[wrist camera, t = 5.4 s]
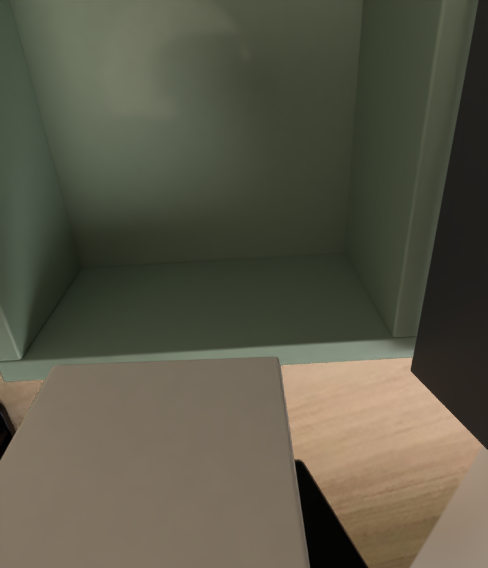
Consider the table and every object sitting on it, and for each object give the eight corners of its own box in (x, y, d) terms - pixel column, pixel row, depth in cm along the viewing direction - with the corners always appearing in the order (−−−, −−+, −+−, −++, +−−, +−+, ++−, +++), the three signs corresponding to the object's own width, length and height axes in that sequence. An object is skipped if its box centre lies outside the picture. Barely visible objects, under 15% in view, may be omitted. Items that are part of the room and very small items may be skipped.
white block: (98, 502, 11) (19, 770, 7) (52, 362, 8) (-106, 644, 4) (277, 494, 11) (303, 758, 7) (279, 354, 8) (320, 626, 4)
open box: (74, 276, 19) (3, 382, 13) (-44, -140, 12) (-303, -314, 6) (357, 259, 19) (415, 358, 13) (394, -166, 12) (551, -365, 6)
